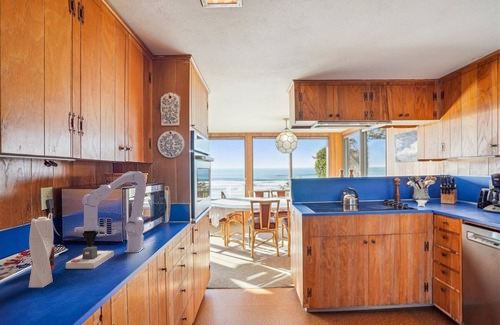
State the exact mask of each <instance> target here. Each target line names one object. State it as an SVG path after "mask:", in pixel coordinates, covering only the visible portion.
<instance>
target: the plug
mask: <svg viewBox="0 0 500 325" xmlns="http://www.w3.org/2000/svg"><path fill="white" fill-rule="evenodd" d="M97 251H98V246H92V247H88V246H86V247H85V248H83V249H82V254H83V257H82V259H95V258H96V257H97Z"/></svg>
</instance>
